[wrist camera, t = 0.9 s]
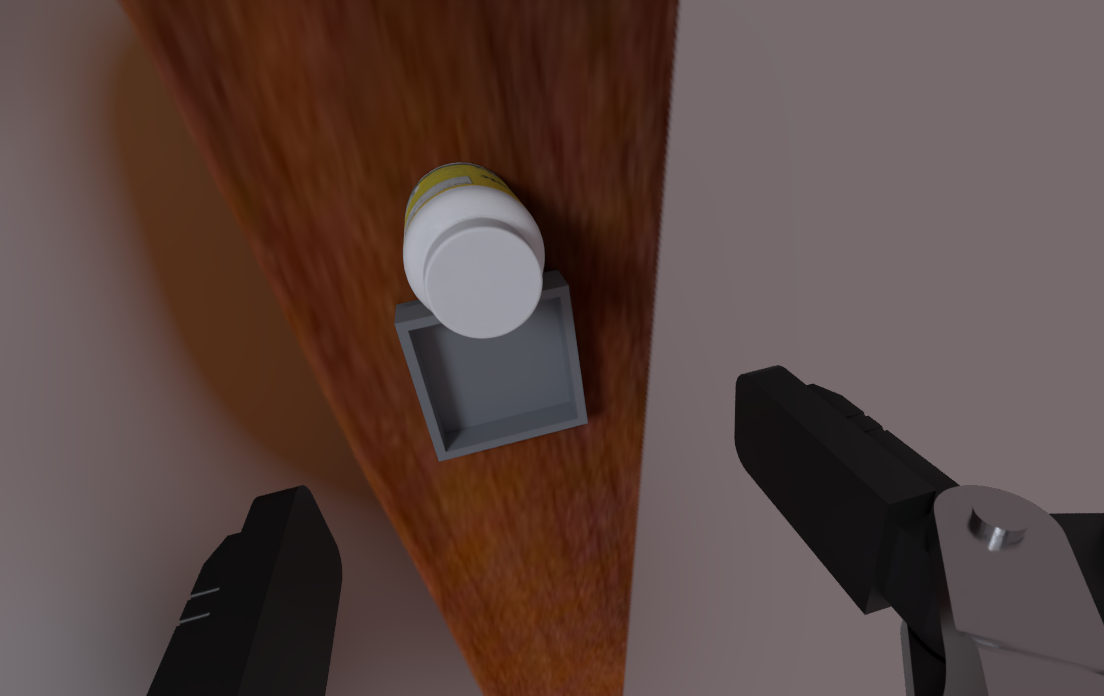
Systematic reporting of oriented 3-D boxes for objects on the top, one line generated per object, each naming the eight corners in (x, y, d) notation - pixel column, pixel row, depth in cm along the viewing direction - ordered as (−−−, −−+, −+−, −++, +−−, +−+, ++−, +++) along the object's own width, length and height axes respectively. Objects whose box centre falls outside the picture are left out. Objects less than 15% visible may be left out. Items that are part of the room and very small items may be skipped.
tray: (396, 304, 28) (394, 324, 26) (557, 269, 29) (568, 285, 27) (437, 435, 32) (438, 461, 30) (576, 400, 33) (587, 423, 31)
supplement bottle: (534, 239, 28) (586, 315, 19) (441, 288, 28) (452, 384, 19) (485, 138, 25) (521, 175, 17) (382, 192, 25) (365, 256, 17)
